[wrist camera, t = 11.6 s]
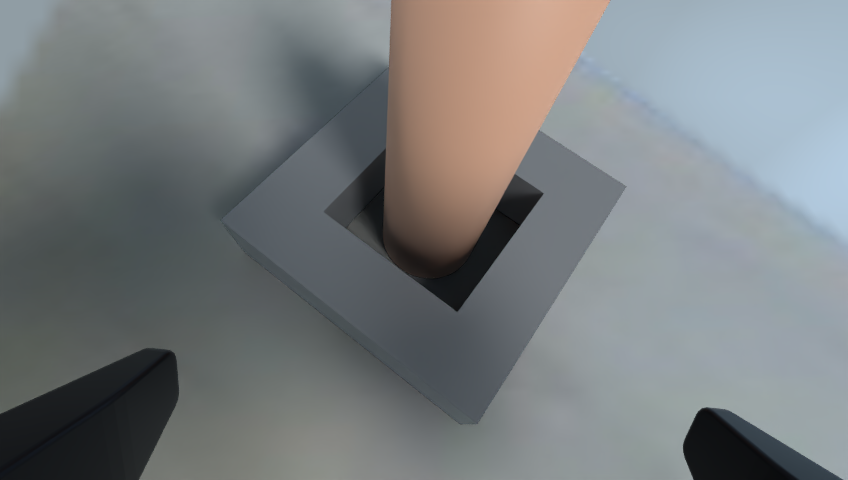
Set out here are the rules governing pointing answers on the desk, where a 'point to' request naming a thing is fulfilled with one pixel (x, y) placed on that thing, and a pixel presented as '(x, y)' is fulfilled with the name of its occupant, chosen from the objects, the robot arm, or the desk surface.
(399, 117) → the peg
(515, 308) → the socket block
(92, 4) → the desk surface
